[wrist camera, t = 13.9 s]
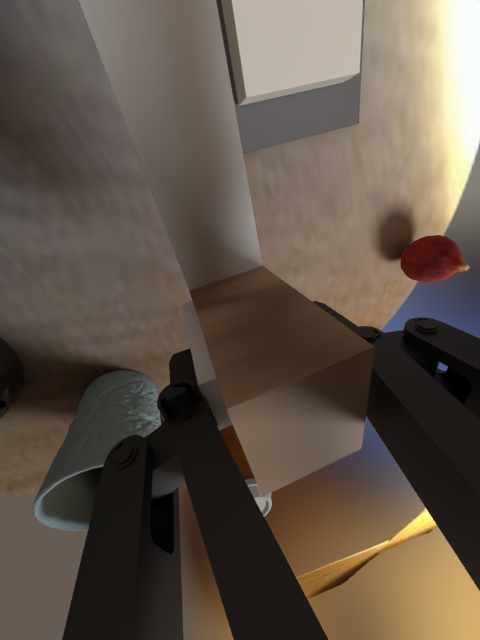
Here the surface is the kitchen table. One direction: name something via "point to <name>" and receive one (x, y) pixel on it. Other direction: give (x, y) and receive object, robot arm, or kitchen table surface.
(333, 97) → the mat
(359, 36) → the tile
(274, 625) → the robot arm
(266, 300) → the tan l-shaped piece
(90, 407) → the grey-green hollow open cylinder
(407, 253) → the onion
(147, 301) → the kitchen table surface
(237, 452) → the disposable coffee cup
